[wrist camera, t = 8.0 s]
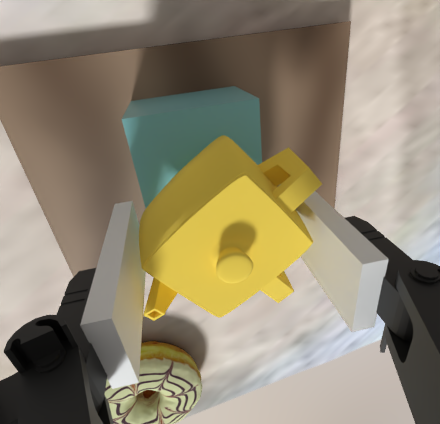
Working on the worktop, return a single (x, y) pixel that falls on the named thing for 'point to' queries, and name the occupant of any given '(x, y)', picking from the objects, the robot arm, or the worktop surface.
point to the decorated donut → (157, 387)
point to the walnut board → (157, 87)
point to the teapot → (225, 229)
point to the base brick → (187, 131)
